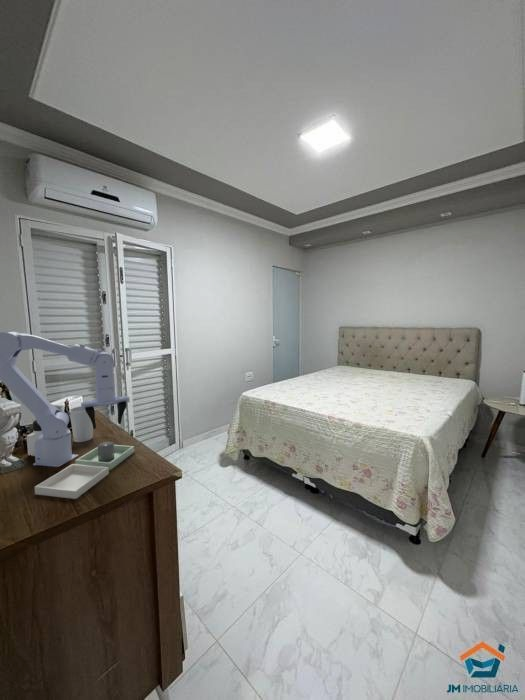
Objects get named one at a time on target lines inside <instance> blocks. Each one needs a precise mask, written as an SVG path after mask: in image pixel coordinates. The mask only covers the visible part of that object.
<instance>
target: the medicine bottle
mask: <svg viewBox="0 0 525 700" xmlns="http://www.w3.org/2000/svg"><path fill="white" fill-rule="evenodd" d="M32 429H33V432H32V433H29V434H27V435H26V445H27V455H28V456H30V455H31V457H35V447H34V445H35V441H36V439H37V438H38V437H39V436H40V435H42V434H43V433H42V429H41V427H40V425H39V424H38V423H37V421H36V419H35V420H33V422H32Z"/></svg>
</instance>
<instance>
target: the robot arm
mask: <svg viewBox="0 0 525 700" xmlns="http://www.w3.org/2000/svg"><path fill="white" fill-rule="evenodd" d="M35 349H36V350H41V351H45V352H50V353H54V354H58V355H61V356H65V357H66V358H67V359H68V361H69V362H73V363H77V364H80V365H84V366H88V367H94V368H95V375H94V378H95V379H94V383H95V397H96V398H95V399H93V400H87V401H82V402H80V406H81V409H85V410H86V413H87V414H88V416H89V417H90V419H91V421H92V424H93V430H95V429H97V424H96V416H95V415H96V414H95V413H96V410H95V408H97V407H104V406H105V407H106V406H111V405H116V409H117V423H118V425H121V424H122V418H123V416H124V412H125V410H126V408H127V406H128V405H127V404H128V403H130V396H129V395H126V396H124V395H123V396H116V390H115V389H116V386H115V385H116V383H115V373H114V366H115V360H114V358H113V357H114V356H113V355H112V354H110V353H109V352H107V351H102V350H101V349H99V348H98V349H95V348H91V347H87V346H86V345H85V343H80V344H73V345H70V346H69V345H66V344H63V343H59V342H57V341H53V340H51V339H47V338H44V337H41V336H38V335H34V334H29V333H24V332H23V333H20V332H19V331H15V330H14V331H13V330H9V331H2V332H1V331H0V382H2V383H3V385H4V386H6V388H7V389H8V390H10V392H11V393H12V394H13V395H14V396H15V397H16V398H17V399H18V400H19V401H20V402H21V403H22V404H23V405H24V406H25V408H27V409H28V410H29V411H30V413H32V415H34V417H35V420H36V421H37V423H38V424H39V425H40V427H41V429H42V433H43V434H42V435H40V436H39V437H38V438H37V439H36V441H35V445H34V447H35V456H34V459H35V462H34V463H33V464H32V465H33V466H46V467H56V468H58V467H61V466H62V465H64V464H67V463H68V462H70V461H71V460H73V459H74V458H76V457H78V456H79V454H76V453H75V454H73V453H72V435H71V430H70V429H69V428H68V424H69V423H70V415H69V414H68V413H67V412H65V411H62V410H61V409H59V408H58V406H56V405H53V404H52V403H50V401H49V400H48V399H47V398H46V397H45V396H44V395H43V394H42V393H41V391H39V390H38V388H37V387H36V386H35V385H34V384H33V383H32V382H31V381H30V380H29V379H28V377H27V376H26V375H25V374H24V373H23V372H22V371H21V370H20V369H19V368H18V366H16V362H17V359H18V356H19V354H20V353H21V351H27V350H35Z"/></svg>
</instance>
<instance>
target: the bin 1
mask: <svg viewBox="0 0 525 700" xmlns="http://www.w3.org/2000/svg"><path fill="white" fill-rule="evenodd" d="M109 472H110V470H109V467H101V466H91V465H80V464H75V463H71V464H70V465H68V466H67V467H65V468H63V469H62V470H60V471H59V472H57V473H55V474H54V475H51V476H49V477H48V478H47V479H45V480H43V481H42V482H40V483H38V484H37V485H35V486H34V495H37V496H47V497H56V498H65V499H70V500H71V499H72V500H77V499H78V498H80V497H81V496H82V495H83V494H84V493H86V492H87V491H88V490H89V489H91V488H92V487H94V486H95V485H96V484H97V483H99V482H100V481H101V480H103V479H104V478H105V477H107V476H108V475H109Z"/></svg>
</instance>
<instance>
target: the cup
mask: <svg viewBox="0 0 525 700" xmlns="http://www.w3.org/2000/svg"><path fill="white" fill-rule="evenodd" d="M69 419H70V424H71V429H72V436H73V442H75V443H83V442H87V441H90V440H92V439H93V438H94V429H93V424H92V421H91V419H90V417H89V416H88V414H87V413H86V410H85V409H81V405H80V406H76V407H72V408H70V409H69Z"/></svg>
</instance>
